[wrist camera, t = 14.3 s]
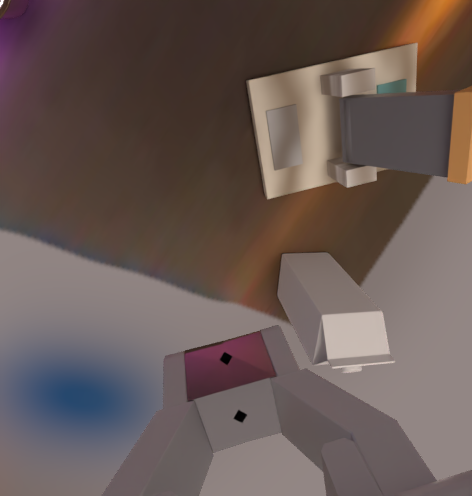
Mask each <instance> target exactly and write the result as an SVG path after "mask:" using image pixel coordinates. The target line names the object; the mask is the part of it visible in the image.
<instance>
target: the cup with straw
mask: <svg viewBox="0 0 472 496" xmlns="http://www.w3.org/2000/svg"><path fill="white" fill-rule="evenodd" d="M28 4H29V0H0V19H14V18H17V17H19V16H21V15H22V14H23V13H24V12H25V11H26V9H27V7H28Z"/></svg>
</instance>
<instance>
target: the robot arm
mask: <svg viewBox="0 0 472 496" xmlns="http://www.w3.org/2000/svg"><path fill="white" fill-rule="evenodd" d="M163 372H164V373H163V409H162V410H159V411H157V412H156V413H155V415H154V416H153V418H152V419H151V421H150V423H149V424H148V426H147V427H146V429H145V430H144V432H143V433H142V435H141V436H140V438H139V440H138V441H137V443H136V444H135V446H134V447H133V449H132V450H131V452H130V453H129V455H128V456H127V458H126V459H125V461H124V462H123V464H122V465H121V467H120V469H119V470H118V472H117V473H116V474H115V476H114V478H113V479H112V481H111V482H110V484H109V485H108V487H107V488H106V490H105V491H104V493H103V494H102V496H199V494H200V491H201V488H202V485H203V482H204V480H205V477H206V474H207V472H208V469H209V466H210V464H211V461H212V458H213V453H214V452H217V451H220V450H223V449H226V448H230V447H233V446H236V445H239V444H242V443H245V442H248V441H252V440H255V439H259V438H263V437H267V436H271V435H274V434H278V433H282V435H284V436H285V437H286V438H287V439H288V440H289V441H290V442H291V443H292V444H293V445H294V446H296V447H297V448H298V449H299V450H300V451H301V452H302V453H303V454H304V455H305V456H306V457H308V458H309V459H310V460H311V461H312V462H313V463H314V464H315V465H316V466H317V467H318V468H320V469H321V470H322V471H323V473H324V481H325V488H326V496H472V470H470V471H467V472H463V473H460V474H457V475H454V476H451V477H448V478H445V479H441V480H439V481H437V480H436V479H435V477H434V476H433V474H432V473H431V471H430V470H429V468H428V467H427V465H426V464H425V463H424V461H423V459H422V458H421V456H420V455H419V454H418V452H417V450H416V449H415V447H414V446H413V444H412V443H411V441H410V440H409V438H408V437H407V435H406V434H405V432H404V431H403V429H402V428H401V426H400V425H399V424H398V422H397V420H395V419H393V418H391V417H390V416H388V415H386V414H384V413H383V412H381V411H379V410H377V409H376V408H374V407H372V406H370V405H369V404H367V403H365V402H363V401H362V400H360V399H358V398H357V397H355V396H353V395H351V394H349V393H348V392H346V391H344V390H342V389H341V388H339V387H337V386H336V385H334V384H332V383H330V382H329V381H327V380H325V379H323V378H322V377H320V376H318V375H316V374H315V373H313V372H311V371H310V370H308V369H303V370H300V369H299V366H298V364H297V362H296V360H295V358H294V356H293V353H292V351H291V349H290V347H289V345H288V343H287V340H286V338H285V336H284V334H283V332H282V330H281V328H280V326H279V325H276V326H272V327H269V328H266V329H262V330H260V331H257V332H253V333H250V334H246V335H243V336H239V337H236V338H232V339H228V340H225V341H221V342H217V343H213V344H209V345H205V346H201V347H197V348H193V349H189V350H185V351H183V352H179V353H175V354H171V355H167V356H165V358H164V367H163Z"/></svg>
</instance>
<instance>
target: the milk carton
mask: <svg viewBox="0 0 472 496" xmlns="http://www.w3.org/2000/svg"><path fill="white" fill-rule="evenodd" d="M277 296H278V298H279V300H280V302H281V304H282V306H283V308H284V310H285V312H286V314H287V316H288V318H289V320H290V322H291V324H292V326H293V328H294V330H295V332H296V334H297V336H298V338H299V340H300V342H301V343H302V346H303V348H304V349H305V351H306V353H307V355H308V357H309V359H310V361H311V363H312V365H323V364H330V366H331V368H341V371H342V373H350V372H357V371H361V370H362V368H361V366H364V365H375V364H385V363H394V362H395V360H394V359H393V357H392V356H391V355H390V352H389V346H388V341H387V335H386V329H385V324H384V318H383V312H382V311H381V310H380V309H379V308H378V307H377V306H376V305H375V303H374V302H373V301H372V300H371V299H370V298H369V297H368V296H367V295H366V294H365V293H364V292H363V290H362V289H361V288H360V287H359V286H358V285H357V284H356V283H355V282H354V280H353V279H352V278H351V277H350V276H349V275H348V274H347V273H346V272H345V271H344V270H343V268H342V267H341V266H340V265H339V264H338V263H337V262H336V261H335V260H334V259H333V258H332V256H331V255H330V254H329V253H327V252H320V253H289V254H282V259H281V267H280V275H279V284H278V292H277Z"/></svg>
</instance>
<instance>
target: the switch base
mask: <svg viewBox="0 0 472 496" xmlns="http://www.w3.org/2000/svg"><path fill="white" fill-rule="evenodd" d="M416 68H417V43H412V44H406V45H402V46H398V47H393V48H389V49H384V50H380V51H375V52H371V53H366V54H362V55H357V56H353V57H349V58H344V59H340V60H335V61H331V62H326V63H322V64H317V65H313V66H308V67H304V68H300V69H295V70H291V71H286V72H282V73H277V74H273V75H268V76H264V77H259V78H255V79H251V80H246V84H247V91H248V97H249V103H250V109H251V115H252V121H253V127H254V133H255V139H256V145H257V151H258V157H259V163H260V169H261V176H262V182H263V188H264V194H265V196H266V198H267V199H270V198H274V197H278V196H282V195H286V194H290V193H294V192H298V191H302V190H306V189H310V188H314V187H318V186H322V185H326V184H330V183H334V182H339V183H340V184H342V185H343V186H345V187H347V188H348V187H352V186H356V185H360V184H364V183H368V182H372V181H376V180H377V176H376V172H378V171H382V170H386V168H379V167H373V166H366V165H359V164H352V163H345V162H343V157H342V139H341V121H340V103H339V99H340V98H343V97H346V96H349V95H362V94H383V93H404V92H416Z"/></svg>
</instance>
